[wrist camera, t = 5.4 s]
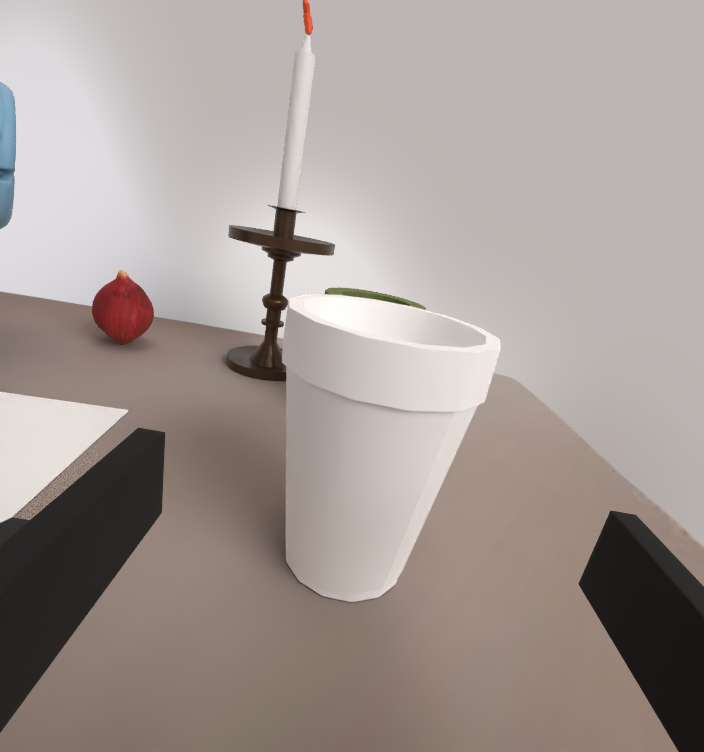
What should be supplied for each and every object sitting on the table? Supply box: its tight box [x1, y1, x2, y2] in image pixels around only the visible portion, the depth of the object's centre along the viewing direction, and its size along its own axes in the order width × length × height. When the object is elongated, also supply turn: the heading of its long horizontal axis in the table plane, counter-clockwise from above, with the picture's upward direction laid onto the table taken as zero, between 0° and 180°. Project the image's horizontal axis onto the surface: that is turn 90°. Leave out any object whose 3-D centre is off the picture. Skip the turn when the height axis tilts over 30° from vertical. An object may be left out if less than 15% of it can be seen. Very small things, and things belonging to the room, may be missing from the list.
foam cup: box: [282, 294, 501, 602], centre depth 21 cm, size 10×9×13 cm
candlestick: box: [226, 0, 335, 380], centre depth 44 cm, size 11×11×35 cm
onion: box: [92, 270, 154, 344], centre depth 46 cm, size 6×6×8 cm
